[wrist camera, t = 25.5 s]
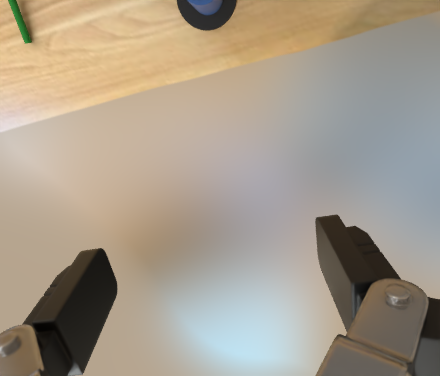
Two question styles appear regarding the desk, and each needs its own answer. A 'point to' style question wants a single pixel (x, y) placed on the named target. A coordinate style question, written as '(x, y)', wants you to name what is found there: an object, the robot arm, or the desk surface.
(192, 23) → the coaster
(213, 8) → the tube
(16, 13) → the decorative flower
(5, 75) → the desk surface
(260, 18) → the desk surface
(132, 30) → the desk surface
